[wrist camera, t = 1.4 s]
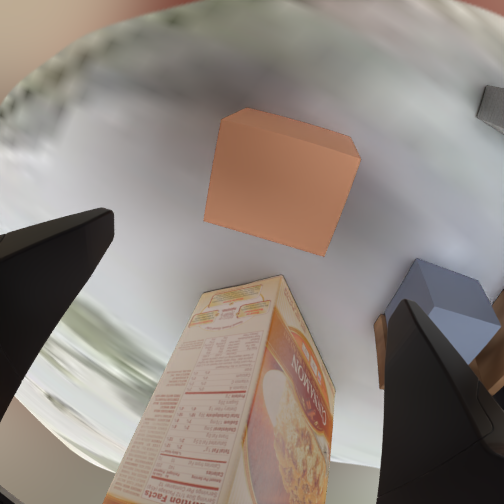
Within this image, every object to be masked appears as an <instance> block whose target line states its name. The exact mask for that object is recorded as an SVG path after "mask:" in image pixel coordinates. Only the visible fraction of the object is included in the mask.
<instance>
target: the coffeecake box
mask: <svg viewBox="0 0 504 504" xmlns="http://www.w3.org/2000/svg"><path fill="white" fill-rule="evenodd" d="M335 392H336V391H335V389H334V386H333V384H332V382H331V379H330V377H329V375H328V372H327V370H326V368H325V366H324V364H323V361H322V359H321V357H320V355H319V353H318V350H317V348H316V346H315V344H314V342H313V339H312V337H311V335H310V333H309V331H308V329H307V327H306V324H305V322H304V320H303V318H302V316H301V314H300V311H299V309H298V307H297V305H296V303H295V301H294V299H293V297H292V294H291V292H290V290H289V288H288V286H287V284H286V282H285V280H284V278H283V276H282V275H279V276H275V277H271V278H267V279H263V280H258V281H255V282H252V283H249V284H246V285H241V286H236V287H231V288H224V289H220V290H216V291H211V292H207V293H203V294H202V296H201V298H200V300H199V302H198V304H197V306H196V308H195V310H194V311H193V313H192V315H191V317H190V319H189V321H188V323H187V325H186V327H185V329H184V331H183V333H182V335H181V337H180V339H179V341H178V344H177V346H176V348H175V350H174V352H173V354H172V356H171V358H170V360H169V362H168V364H167V366H166V368H165V370H164V372H163V374H162V376H161V378H160V380H159V383H158V385H157V387H156V389H155V391H154V393H153V395H152V397H151V399H150V401H149V403H148V405H147V407H146V410H145V412H144V414H143V416H142V418H141V420H140V422H139V424H138V426H137V429H136V431H135V433H134V435H133V437H132V439H131V441H130V444H129V446H128V448H127V450H126V452H125V454H124V457H123V459H122V461H121V463H120V465H119V468H118V470H117V472H116V474H115V477H114V479H113V481H112V483H111V485H110V487H109V490H108V492H107V494H106V497H105V499H104V502H103V504H325V499H326V492H327V482H328V474H329V464H330V453H331V441H332V429H333V414H334V398H335Z"/></svg>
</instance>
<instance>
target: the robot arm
mask: <svg viewBox="0 0 504 504" xmlns="http://www.w3.org/2000/svg"><path fill="white" fill-rule="evenodd" d="M113 238H114V213H113V211H112V210H109V209H106V208H97V209H93V210H89V211H85V212H81V213H77V214H73V215H69V216H65V217H61V218H58V219H54V220H50V221H47V222H43V223H39V224H36V225H32V226H29V227H26V228H22V229H19V230H16V231H12V232H9V233H7V234H2V235H0V422H1V420H2V418H3V416H4V414H5V412H6V410H7V408H8V406H9V404H10V402H11V400H12V398H13V397H14V395H15V393H16V391H17V390H18V388H19V386H20V384H21V382H22V380H23V379H24V377H25V375H26V373H27V372H28V370H29V368H30V367H31V365H32V363H33V362H34V360H35V358H36V357H37V355H38V353H39V352H40V350H41V349H42V347H43V345H44V344H45V342H46V341H47V339H48V338H49V336H50V334H51V333H52V331H53V330H54V328H55V327H56V325H57V324H58V322H59V321H60V319H61V318H62V316H63V315H64V313H65V312H66V311H67V309H68V308H69V306H70V305H71V303H72V302H73V300H74V299H75V298H76V296H77V295H78V293H79V292H80V291H81V289H82V288H83V286H84V285H85V284H86V282H87V281H88V279H89V278H90V277H91V275H92V273H93V272H94V270H95V269H96V267H97V265H98V264H99V262H100V260H101V259H102V257H103V255H104V254H105V252H106V250H107V249H108V247H109V246H110V244H111V242H112V241H113ZM377 497H378V498H377V502H376V504H504V386H503V387H502V388H501V389H500V390H499V391H498V392H496V393H495V394H494V395H493V396H491V394H490V393H489V392H488V390H487V389H486V388H485V386H484V385H483V384H482V382H481V381H480V380H479V379H478V377H477V376H476V374H475V373H474V372H473V371H472V369H471V368H470V367H469V365H468V364H467V363H466V362H465V360H464V359H463V358H462V356H461V355H460V354H459V353H458V351H457V350H456V349H455V348H454V346H453V345H452V344H451V343H450V342H449V340H448V339H447V338H446V337H445V335H444V334H443V333H442V332H441V331H440V329H439V328H438V327H437V326H436V325H435V324H434V322H433V321H432V320H431V319H430V318H429V317H428V315H427V314H426V313H425V312H424V311H423V310H422V308H421V307H420V306H419V305H418V304H417V303H416V302H415V301H412V300H409V299H402V300H401V301H400V303H399V304H398V306H397V307H396V309H395V310H394V312H393V314H392V315H391V317H390V319H389V321H388V328H387V342H386V354H385V367H384V423H383V442H382V456H381V468H380V478H379V487H378V495H377ZM0 504H24V503H22V502H21V501H20V500H19V499H17V498H16V497H14V496H13V495H12V494H11V493H9V492H8V491H7V490H5V489H4V488H3V487H2V486H1V485H0Z"/></svg>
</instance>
